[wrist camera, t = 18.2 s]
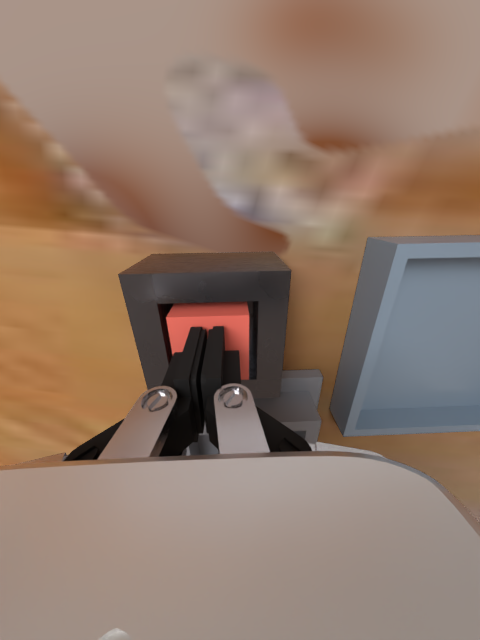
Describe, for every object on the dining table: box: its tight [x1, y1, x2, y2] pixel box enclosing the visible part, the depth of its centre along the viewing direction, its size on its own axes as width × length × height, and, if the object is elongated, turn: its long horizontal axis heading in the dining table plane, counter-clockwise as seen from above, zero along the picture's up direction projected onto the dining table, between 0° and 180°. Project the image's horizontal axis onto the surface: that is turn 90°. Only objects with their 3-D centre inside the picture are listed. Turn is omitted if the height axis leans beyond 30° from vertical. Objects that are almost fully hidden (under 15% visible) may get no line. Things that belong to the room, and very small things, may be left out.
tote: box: [329, 235, 480, 437], centre depth 17 cm, size 16×16×3 cm
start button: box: [166, 301, 249, 380], centre depth 13 cm, size 4×4×3 cm
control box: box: [118, 252, 291, 398], centre depth 15 cm, size 8×8×5 cm
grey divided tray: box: [186, 369, 323, 456], centre depth 23 cm, size 13×24×4 cm, turn 1°
